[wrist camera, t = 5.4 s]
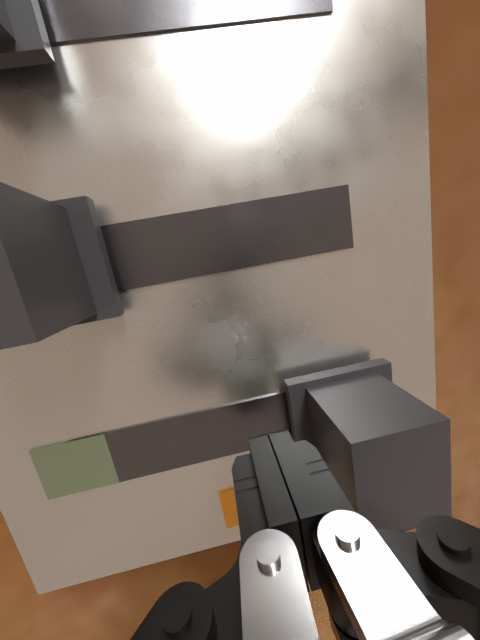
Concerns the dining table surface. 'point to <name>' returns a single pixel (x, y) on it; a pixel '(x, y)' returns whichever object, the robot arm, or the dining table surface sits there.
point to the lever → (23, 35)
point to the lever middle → (51, 267)
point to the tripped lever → (375, 442)
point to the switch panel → (208, 254)
